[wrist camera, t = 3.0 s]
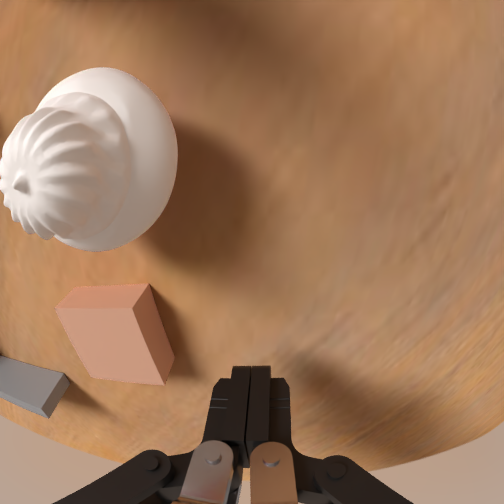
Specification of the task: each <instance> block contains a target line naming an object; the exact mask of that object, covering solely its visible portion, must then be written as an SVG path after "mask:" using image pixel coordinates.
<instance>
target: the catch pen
mask: <svg viewBox="0 0 504 504" xmlns="http://www.w3.org/2000/svg"><path fill="white" fill-rule="evenodd" d="M69 385H70V382H69V381H68V379H67V378H66V376H65V374H64V373H60V372H56V371H52V370H48V369H44V368H41V367H37V366H33V365H30V364H27V363H23V362H20V361H17V360H13V359H10V358H7V357H4V356H1V355H0V397H1V398H3V399H5V400H7V401H9V402H11V403H13V404H15V405H18V406H20V407H22V408H24V409H26V410H29V411H31V412H34V413H36V414H38V415H41V416H43V417H46V418H50V416H51V414H52V413H53V411H54V409H55V408H56V406H57V404H58V403H59V401H60V399H61V398H62V396H63V394H64V393H65V391H66V390H67V388H68V386H69Z"/></svg>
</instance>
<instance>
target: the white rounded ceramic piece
mask: <svg viewBox="0 0 504 504" xmlns="http://www.w3.org/2000/svg"><path fill="white" fill-rule="evenodd" d="M177 163H178V145H177V139H176V134H175V129H174V127H173V124H172V121H171V118H170V115H169V114H168V112H167V110H166V108H165V107H164V105H163V104H162V102H161V101H160V99H159V98H158V97H157V95H156V94H155V93H154V92H153V91H152V90H151V89H150V88H149V87H148V86H146V85H145V84H144V83H143V82H141V81H140V80H138V79H137V78H135V77H134V76H132V75H130V74H128V73H126V72H124V71H121V70H118V69H114V68H108V67H99V68H91V69H87V70H83V71H81V72H78V73H75V74H73V75H71V76H69V77H67V78H66V79H64V80H62V81H61V82H60V83H58V84H57V85H56V86H54V87H53V88H52V89H51V90H50V91H49V92H48V93H47V94H46V96H45V97H44V98H43V100H42V101H41V102H40V104H39V106H38V107H37V109H36V111H35V112H34V113H33V114H30V115H27V116H25V117H24V118H22V119H21V120H20V121H19V122H18V124H17V125H16V126H15V128H14V129H13V131H12V133H11V134H10V136H9V137H8V138H7V140H6V142H5V144H4V146H3V151H2V158H1V160H0V175H1V180H0V190H1V191H2V192H3V193H4V196H5V197H4V205H5V206H6V207H8V208H10V210H11V214H12V219H13V220H14V221H15V222H21V224H22V227H23V229H24V230H25V231H26V232H27V233H28V234H33V233H35V232H36V233H37V234H38V235H39V236H40V237H41V238H43V239H45V240H49V239H51V238H52V237H53V236H54V237H55V238H57V239H58V240H59V241H61V242H63V243H65V244H67V245H69V246H71V247H74V248H77V249H80V250H85V251H92V252H101V251H108V250H112V249H115V248H118V247H121V246H123V245H125V244H128V243H129V242H131V241H133V240H135V239H136V238H138V237H139V236H141V235H142V234H143V233H144V232H146V231H147V230H148V229H149V228H150V227H151V226H152V225H153V224H154V223H155V221H156V220H157V219H158V218H159V216H160V215H161V213H162V212H163V210H164V208H165V207H166V205H167V203H168V201H169V198H170V196H171V193H172V190H173V186H174V182H175V178H176V172H177Z"/></svg>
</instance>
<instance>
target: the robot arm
mask: <svg viewBox="0 0 504 504" xmlns="http://www.w3.org/2000/svg"><path fill="white" fill-rule="evenodd" d="M243 468H250V486H251V487H250V488H251V504H298V502H300V503H304V504H413V503H412V502H410V501H409V500H407V499H406V498H404V497H403V496H401V495H399V494H398V493H397V492H395V491H393V490H392V489H391V488H389V487H388V486H386V485H385V484H384V483H382V482H381V481H379V480H378V479H376V478H375V477H374V476H372V475H371V474H370V473H368V472H367V471H365V470H364V469H363V468H361V467H360V466H359V465H357V464H356V463H355V462H353V461H352V460H351V459H349V458H347V457H345V456H340V455H334V456H330V457H327V458H325V459H323V460H322V459H317V458H312V457H308V456H305V455H302V454H301V453H299V452H298V451H297V450H296V449H295V448H294V446H293V444H292V440H291V414H290V390H289V386H288V384H287V382H286V381H285V379H284V378H271V366H252V367H251V366H233V368H232V374H231V379H229V378H220V379H219V381H218V382H217V383H216V385H215V386H214V387H213V392H212V397H211V401H210V408H209V411H208V416H207V421H206V426H205V431H204V436H203V440H202V442H201V444H200V445H199V446H197V448H196V449H194V450H193V451H191V452H189V453H185V454H180V455H173V456H167V455H166V454H165V453H163V452H161V451H159V450H146V451H143V452H142V453H140V454H138V455H137V456H135V457H134V458H132V459H131V460H129V461H127V462H126V463H124V464H123V465H121V466H119V467H118V468H116V469H115V470H113V471H112V472H109V473H108V474H106V475H104V476H103V477H101V478H99V479H98V480H96V481H94V482H92V483H91V484H89V485H87V486H85V487H83V488H81V489H80V490H78V491H76V492H74V493H72V494H70V495H68V496H67V497H65V498H63V499H61V500H59V501H57V502H55V503H53V504H238V502H239V496H240V491H241V486H242V474H243Z"/></svg>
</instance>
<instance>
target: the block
mask: <svg viewBox="0 0 504 504" xmlns="http://www.w3.org/2000/svg"><path fill="white" fill-rule="evenodd" d="M55 310H56V313H57V315H58V317H59V319H60V321H61V323H62V325H63V327H64V329H65V331H66V333H67V335H68V337H69V339H70V341H71V343H72V345H73V347H74V348H75V350H76V352H77V354H78V356H79V357H80V359H81V361H82V363H83V364H84V366H85V368H86V370H87V371H88V373H89V375H90V376H91V377H92V378H99V379H106V380H114V381H122V382H131V383H141V384H152V385H165V383H166V381H167V378H168V375H169V372H170V370H171V367H172V364H173V362H174V359H175V357H174V354H173V351H172V349H171V346H170V344H169V341H168V338H167V335H166V333H165V330H164V327H163V324H162V321H161V318H160V315H159V313H158V310H157V307H156V304H155V301H154V297H153V294H152V291H151V288H150V285H149V283H148V284H130V285H109V286H87V287H74V288H73V289H72V290H71V291H70V292H69V293H68V294H67V295H66V297H65V298H64V299H63V300H62V301H61V302H60V303H59V304H58V305H57V306H56V307H55Z"/></svg>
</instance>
